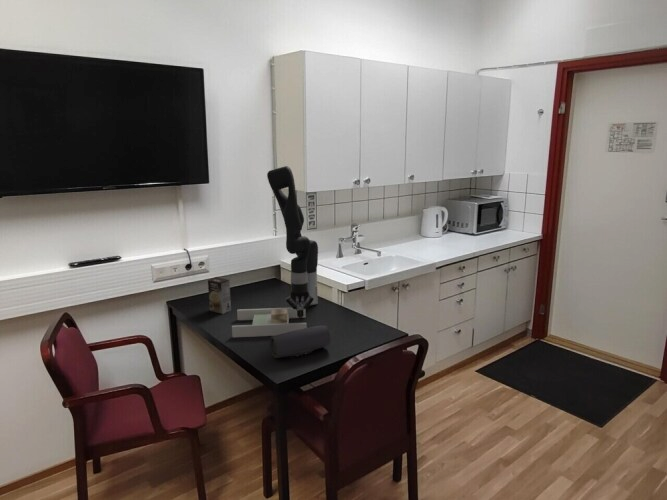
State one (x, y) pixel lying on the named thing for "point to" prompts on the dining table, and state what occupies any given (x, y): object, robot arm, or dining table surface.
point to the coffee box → (219, 295)
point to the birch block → (279, 316)
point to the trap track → (265, 323)
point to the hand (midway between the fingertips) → (300, 317)
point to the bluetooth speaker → (299, 341)
